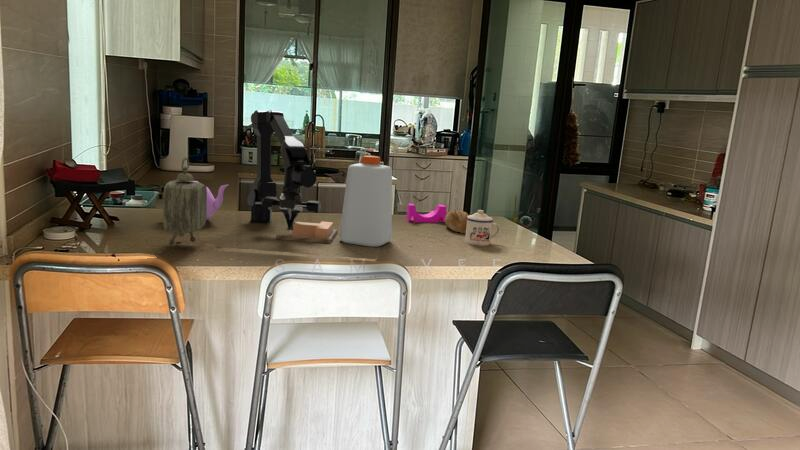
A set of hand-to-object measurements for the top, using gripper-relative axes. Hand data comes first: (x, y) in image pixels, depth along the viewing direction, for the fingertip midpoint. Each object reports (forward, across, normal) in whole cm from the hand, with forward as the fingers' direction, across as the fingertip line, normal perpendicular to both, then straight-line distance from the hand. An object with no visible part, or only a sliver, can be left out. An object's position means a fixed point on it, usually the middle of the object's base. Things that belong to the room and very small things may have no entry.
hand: (290, 229), depth 199 cm
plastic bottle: (+1, +26, -2) cm, 26 cm away
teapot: (+2, -36, +11) cm, 37 cm away
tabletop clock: (+2, -26, -22) cm, 34 cm away
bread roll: (+1, +58, +29) cm, 65 cm away
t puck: (+1, +8, 0) cm, 8 cm away
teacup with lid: (+1, +65, +10) cm, 66 cm away
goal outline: (+1, +6, 0) cm, 7 cm away
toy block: (+1, +45, +42) cm, 62 cm away
